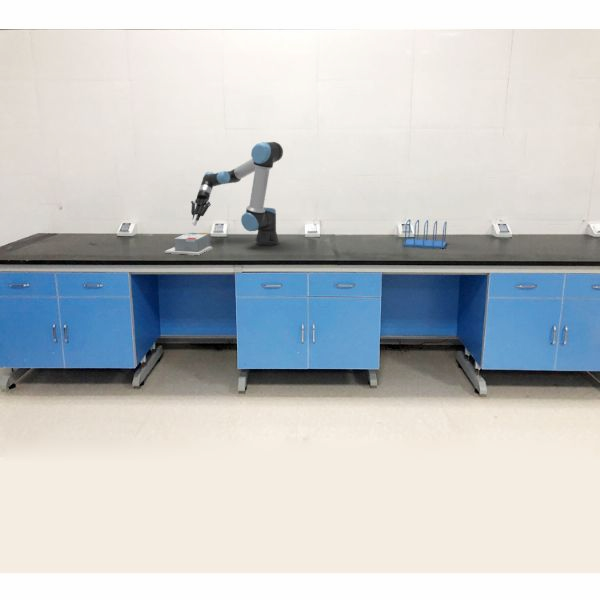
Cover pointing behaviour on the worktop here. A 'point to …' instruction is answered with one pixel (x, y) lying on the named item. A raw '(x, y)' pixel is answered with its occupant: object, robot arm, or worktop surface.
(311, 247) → the worktop surface
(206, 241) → the hard drive box
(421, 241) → the file sorter
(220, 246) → the worktop surface
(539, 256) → the worktop surface
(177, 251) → the white flat square panel
